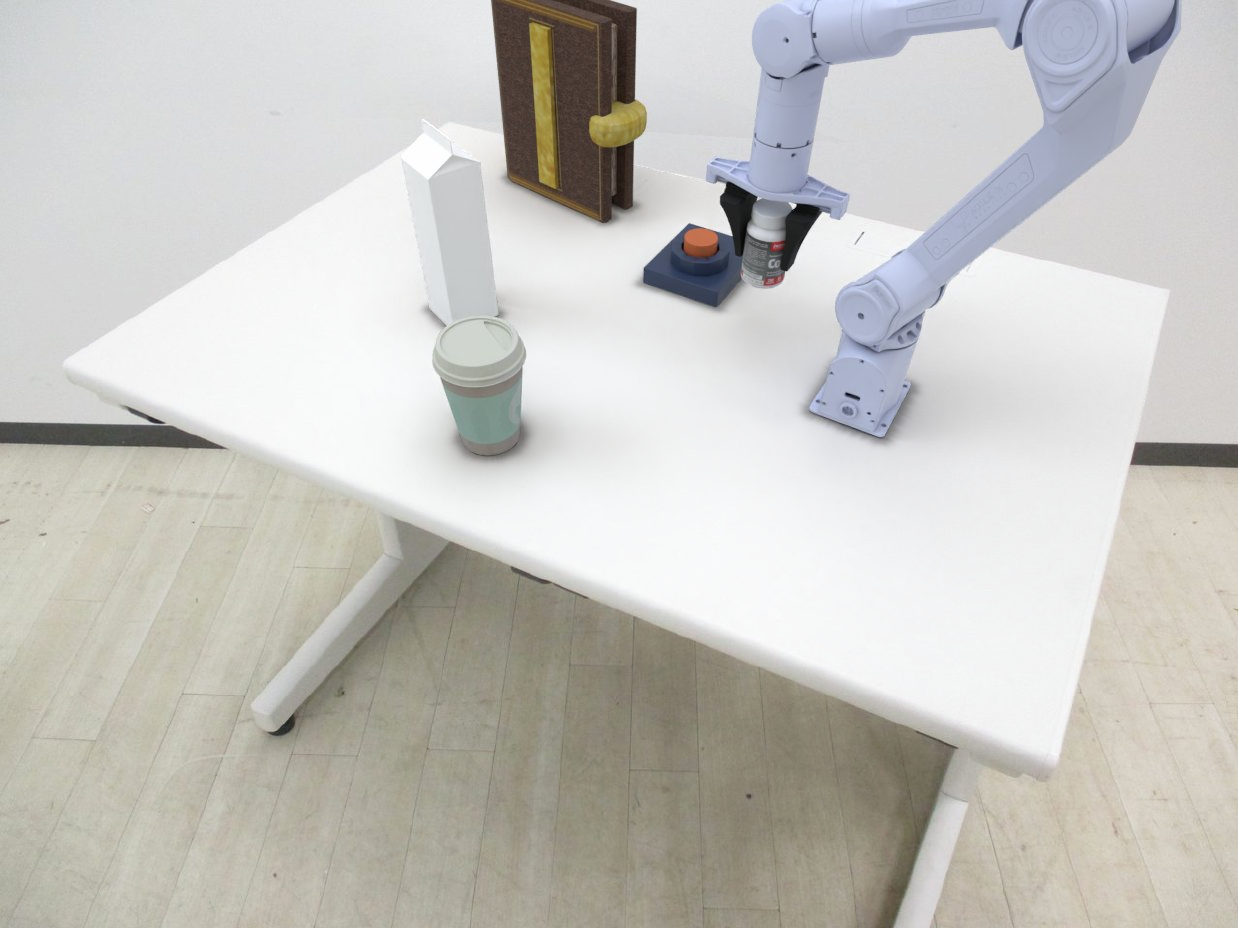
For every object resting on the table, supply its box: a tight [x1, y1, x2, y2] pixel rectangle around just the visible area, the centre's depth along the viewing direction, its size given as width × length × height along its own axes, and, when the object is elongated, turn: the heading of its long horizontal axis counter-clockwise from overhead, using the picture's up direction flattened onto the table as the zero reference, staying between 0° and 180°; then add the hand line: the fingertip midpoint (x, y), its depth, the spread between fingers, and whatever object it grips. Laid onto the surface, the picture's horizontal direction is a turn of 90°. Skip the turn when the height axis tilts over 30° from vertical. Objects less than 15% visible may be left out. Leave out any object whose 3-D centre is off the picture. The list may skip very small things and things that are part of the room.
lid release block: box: [642, 222, 743, 308], centre depth 104 cm, size 12×10×4 cm
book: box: [490, 0, 648, 224], centre depth 109 cm, size 22×8×25 cm, turn 50°
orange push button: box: [684, 228, 718, 257], centre depth 101 cm, size 4×4×2 cm
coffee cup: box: [431, 316, 527, 456], centre depth 80 cm, size 8×8×12 cm
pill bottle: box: [741, 198, 793, 290], centre depth 89 cm, size 5×5×8 cm
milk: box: [400, 118, 500, 327], centre depth 91 cm, size 6×6×22 cm
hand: (764, 259), depth 90 cm, fingers closed on pill bottle, 5 cm apart
